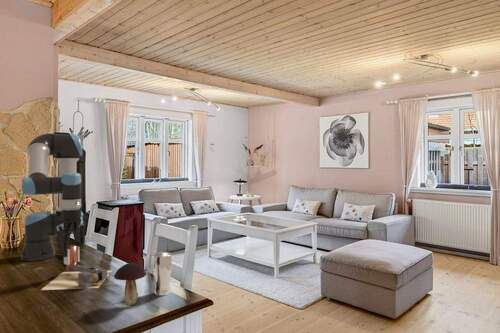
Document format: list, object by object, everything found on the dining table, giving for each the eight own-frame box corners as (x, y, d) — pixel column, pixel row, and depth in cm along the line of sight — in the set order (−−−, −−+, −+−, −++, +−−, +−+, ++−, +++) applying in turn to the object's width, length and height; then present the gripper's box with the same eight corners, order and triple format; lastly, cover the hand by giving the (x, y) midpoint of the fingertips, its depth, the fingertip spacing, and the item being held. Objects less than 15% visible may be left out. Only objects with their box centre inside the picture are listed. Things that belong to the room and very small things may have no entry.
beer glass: (155, 289, 137) (155, 252, 136) (173, 289, 137) (173, 251, 137) (151, 296, 130) (151, 257, 129) (170, 296, 130) (170, 256, 130)
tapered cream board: (63, 275, 152) (62, 260, 152) (112, 273, 155) (112, 259, 155) (40, 294, 131) (40, 277, 131) (98, 291, 134) (98, 275, 134)
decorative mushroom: (152, 301, 126) (152, 260, 125) (133, 313, 115) (133, 269, 115) (127, 297, 129) (127, 257, 129) (106, 309, 119) (106, 265, 118)
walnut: (89, 281, 141) (89, 272, 140) (100, 281, 141) (99, 271, 141) (86, 285, 137) (86, 275, 137) (96, 284, 137) (96, 274, 137)
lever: (73, 269, 152) (73, 244, 152) (109, 277, 143) (109, 250, 143) (63, 273, 148) (63, 246, 148) (99, 280, 139) (99, 253, 139)
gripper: (58, 212, 139) (59, 269, 140) (94, 207, 155) (94, 258, 155) (46, 210, 143) (47, 266, 143) (82, 205, 158) (82, 256, 159)
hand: (71, 262), depth 149 cm, fingers closed on lever, 4 cm apart
